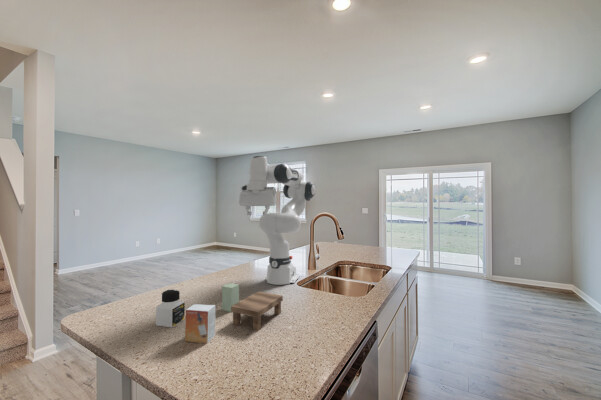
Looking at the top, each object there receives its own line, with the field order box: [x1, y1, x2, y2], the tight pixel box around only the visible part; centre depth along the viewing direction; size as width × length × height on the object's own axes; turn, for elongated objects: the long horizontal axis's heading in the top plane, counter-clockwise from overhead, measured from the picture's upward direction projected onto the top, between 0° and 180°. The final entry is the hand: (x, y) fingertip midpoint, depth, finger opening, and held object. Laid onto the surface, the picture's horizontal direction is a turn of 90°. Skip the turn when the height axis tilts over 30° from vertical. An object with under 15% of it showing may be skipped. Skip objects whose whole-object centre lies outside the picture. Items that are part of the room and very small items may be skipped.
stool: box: [230, 291, 284, 332], centre depth 105 cm, size 18×12×7 cm, turn 155°
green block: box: [221, 282, 240, 313], centre depth 114 cm, size 5×5×10 cm
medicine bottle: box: [155, 288, 186, 328], centre depth 101 cm, size 7×7×12 cm
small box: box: [184, 303, 216, 345], centre depth 89 cm, size 8×6×10 cm
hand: (257, 215), depth 132 cm, fingers open, 8 cm apart
